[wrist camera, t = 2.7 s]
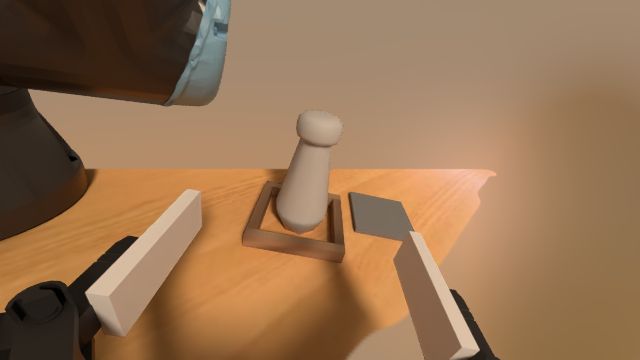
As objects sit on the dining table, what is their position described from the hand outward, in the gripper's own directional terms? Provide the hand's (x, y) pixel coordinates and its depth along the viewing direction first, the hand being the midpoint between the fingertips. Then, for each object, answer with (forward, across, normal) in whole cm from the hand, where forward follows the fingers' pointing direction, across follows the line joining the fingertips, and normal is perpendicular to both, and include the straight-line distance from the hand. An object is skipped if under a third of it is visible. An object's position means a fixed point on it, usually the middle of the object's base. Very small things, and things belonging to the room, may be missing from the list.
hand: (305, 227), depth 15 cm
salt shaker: (+10, 0, -8) cm, 13 cm away
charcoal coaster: (+14, +11, -8) cm, 20 cm away
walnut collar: (+10, 0, -8) cm, 13 cm away
